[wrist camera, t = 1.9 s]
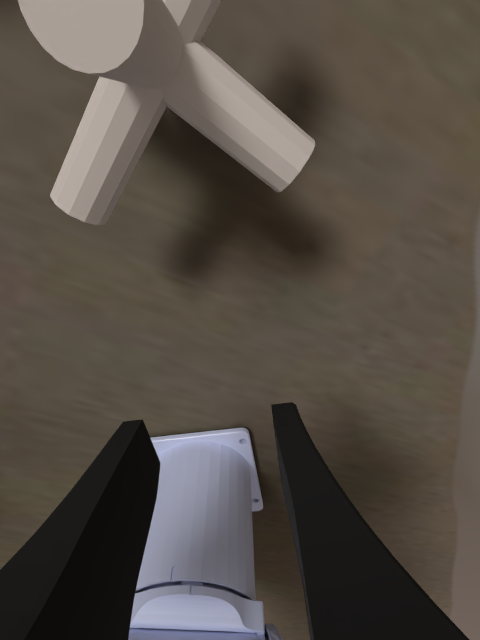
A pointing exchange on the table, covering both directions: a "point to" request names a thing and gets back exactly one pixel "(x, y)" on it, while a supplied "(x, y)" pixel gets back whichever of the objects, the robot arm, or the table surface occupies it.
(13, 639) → the robot arm
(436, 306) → the table surface
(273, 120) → the pipe connector
